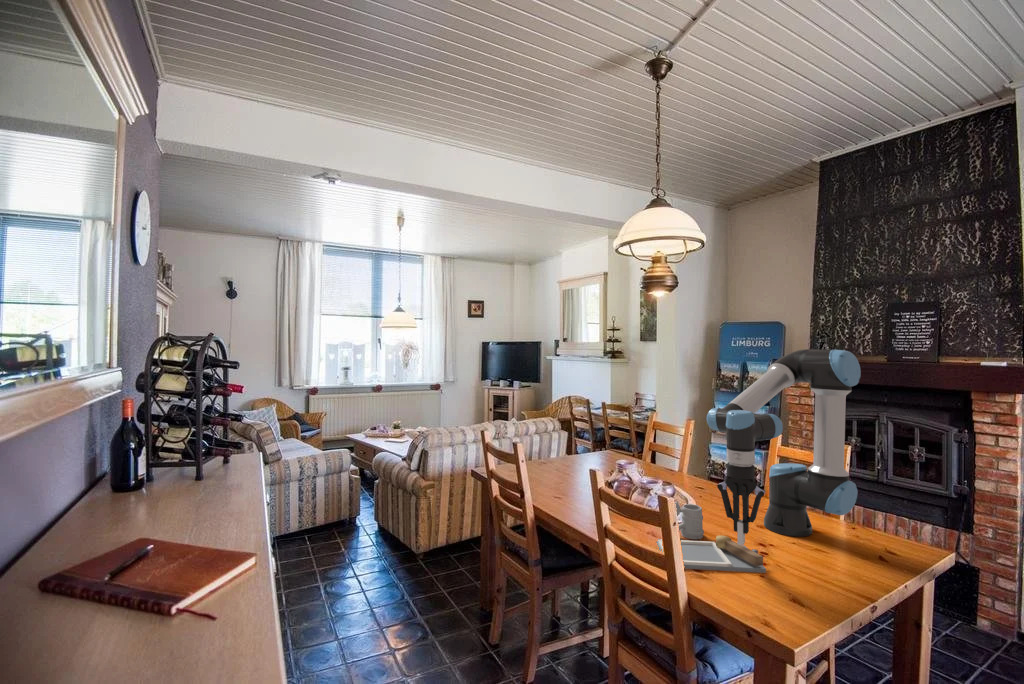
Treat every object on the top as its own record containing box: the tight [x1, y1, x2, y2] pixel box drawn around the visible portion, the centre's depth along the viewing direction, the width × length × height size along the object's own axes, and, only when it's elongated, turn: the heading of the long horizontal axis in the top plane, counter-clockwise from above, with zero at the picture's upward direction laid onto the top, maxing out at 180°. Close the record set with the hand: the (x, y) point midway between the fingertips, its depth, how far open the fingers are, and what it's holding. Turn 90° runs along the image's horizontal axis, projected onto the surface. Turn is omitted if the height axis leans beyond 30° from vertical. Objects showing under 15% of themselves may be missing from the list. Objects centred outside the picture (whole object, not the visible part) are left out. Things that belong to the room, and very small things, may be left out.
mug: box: [674, 501, 705, 541], centre depth 166 cm, size 8×12×12 cm, turn 102°
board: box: [655, 538, 767, 574], centre depth 149 cm, size 28×16×4 cm, turn 84°
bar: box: [715, 535, 764, 566], centre depth 147 cm, size 16×4×2 cm, turn 20°
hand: (741, 543), depth 142 cm, fingers closed
